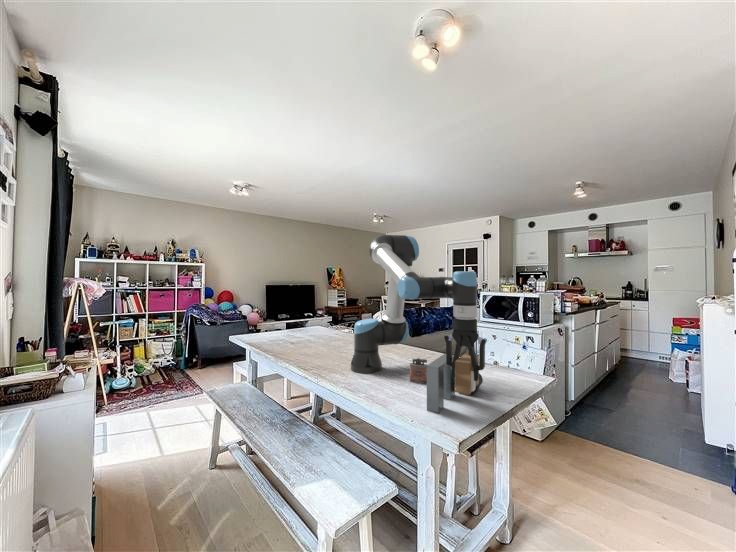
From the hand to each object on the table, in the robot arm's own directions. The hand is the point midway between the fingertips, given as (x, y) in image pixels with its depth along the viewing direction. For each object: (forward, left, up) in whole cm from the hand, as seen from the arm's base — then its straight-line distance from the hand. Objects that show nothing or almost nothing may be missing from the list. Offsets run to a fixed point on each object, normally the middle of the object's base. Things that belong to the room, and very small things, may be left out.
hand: (465, 388), depth 102 cm
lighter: (-24, +18, -8) cm, 31 cm away
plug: (0, +3, 0) cm, 3 cm away
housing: (-9, +3, -8) cm, 12 cm away
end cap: (-3, +19, -8) cm, 21 cm away
